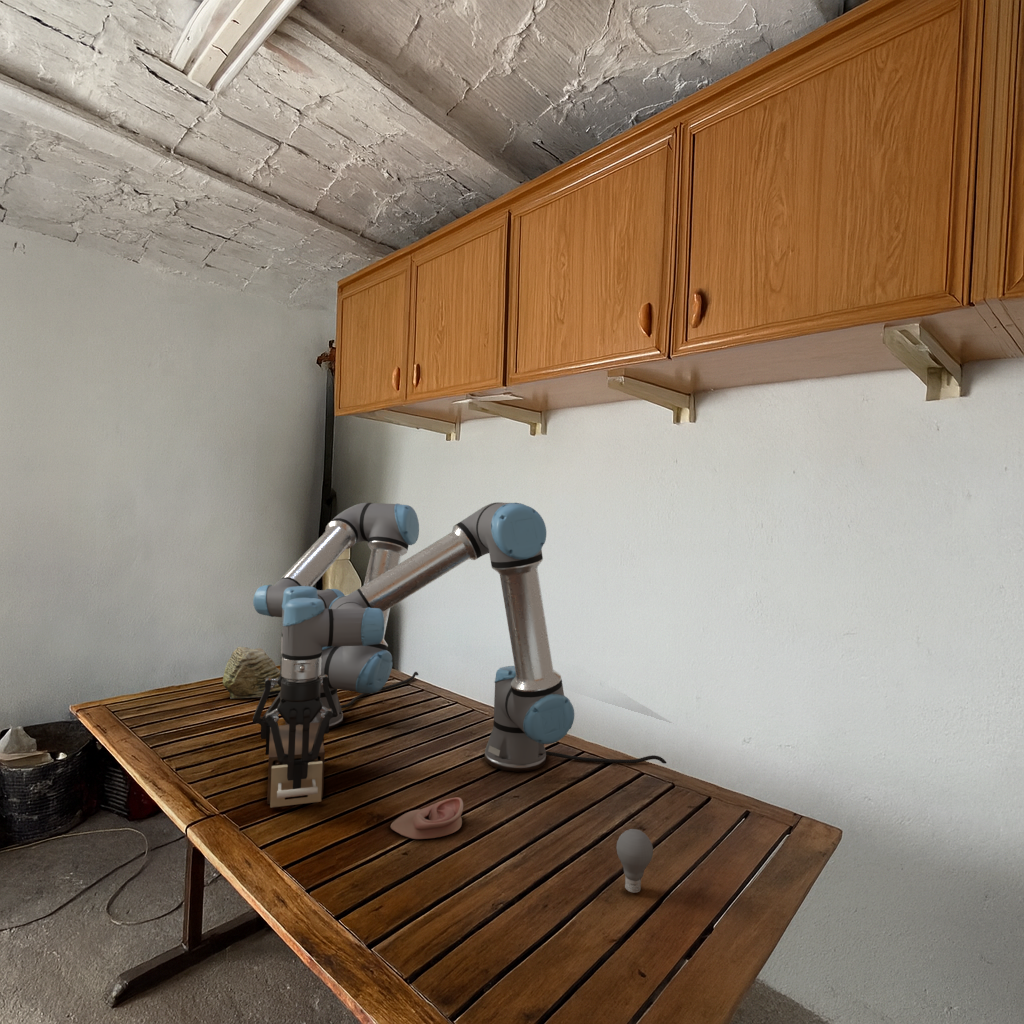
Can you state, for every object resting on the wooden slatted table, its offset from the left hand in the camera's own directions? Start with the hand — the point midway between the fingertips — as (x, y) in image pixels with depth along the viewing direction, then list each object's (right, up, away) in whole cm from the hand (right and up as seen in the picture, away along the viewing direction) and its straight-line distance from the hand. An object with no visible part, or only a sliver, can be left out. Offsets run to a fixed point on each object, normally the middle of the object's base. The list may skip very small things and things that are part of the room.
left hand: (294, 749), depth 145 cm
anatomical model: (+33, -7, -21) cm, 40 cm away
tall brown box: (+2, -5, -5) cm, 8 cm away
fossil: (-31, -3, +53) cm, 61 cm away
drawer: (+4, -4, -12) cm, 13 cm away
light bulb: (+70, -9, -40) cm, 81 cm away
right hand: (+7, -2, -19) cm, 21 cm away
